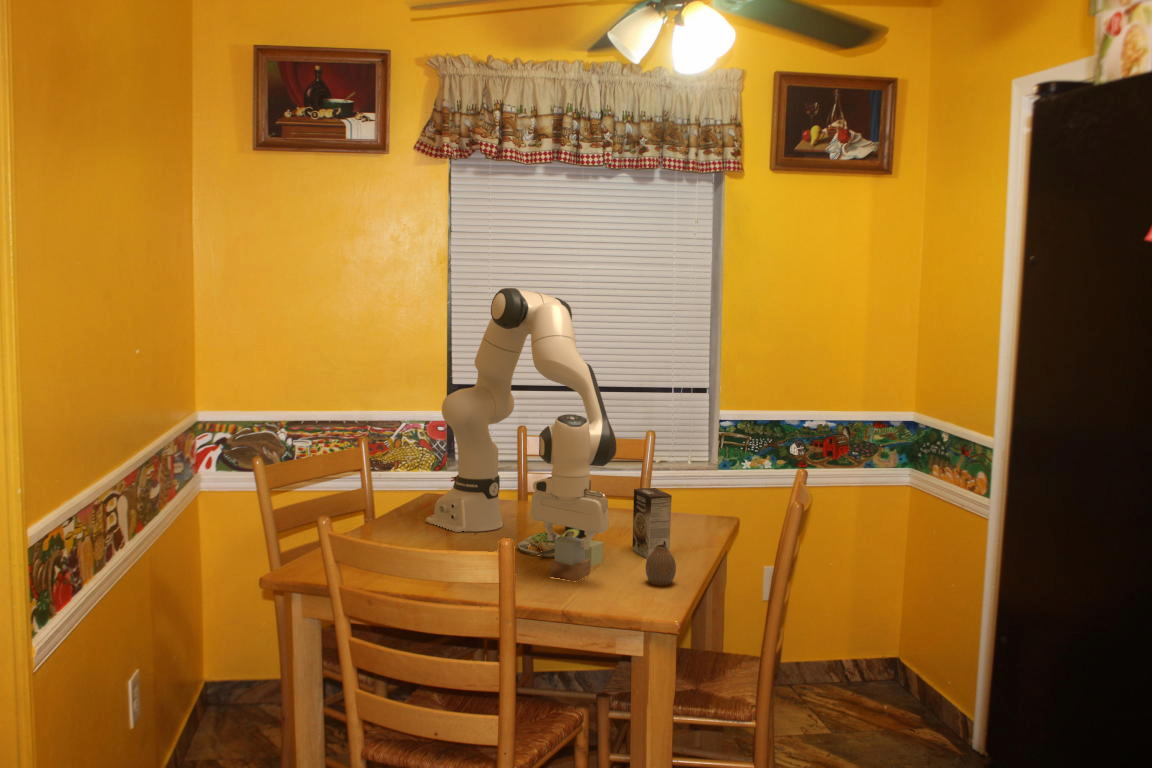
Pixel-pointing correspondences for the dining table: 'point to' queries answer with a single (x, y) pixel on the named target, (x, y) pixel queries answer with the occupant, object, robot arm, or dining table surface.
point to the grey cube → (569, 550)
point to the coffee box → (651, 520)
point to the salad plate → (546, 542)
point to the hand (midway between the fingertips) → (568, 544)
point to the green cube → (594, 552)
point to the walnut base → (570, 570)
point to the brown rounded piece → (660, 566)
